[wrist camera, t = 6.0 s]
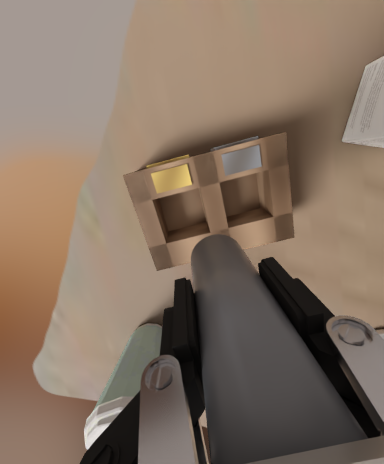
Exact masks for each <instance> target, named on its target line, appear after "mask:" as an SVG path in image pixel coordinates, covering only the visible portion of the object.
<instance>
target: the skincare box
mask: <svg viewBox="0 0 384 464" xmlns="http://www.w3.org/2000/svg"><path fill="white" fill-rule="evenodd" d="M342 141H343V142H346V143H352V144H359V145H366V146H374V147H381V148H384V56H382V57H380V58H379V59H377V60H375V61H373V62H371V63H370V64H368V65H366V66H365V69H364V73H363V76H362V79H361V82H360V85H359V88H358V91H357V94H356V98H355V101H354V104H353V107H352V110H351V113H350V116H349V119H348V122H347V126H346V129H345V132H344V135H343V138H342Z"/></svg>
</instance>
